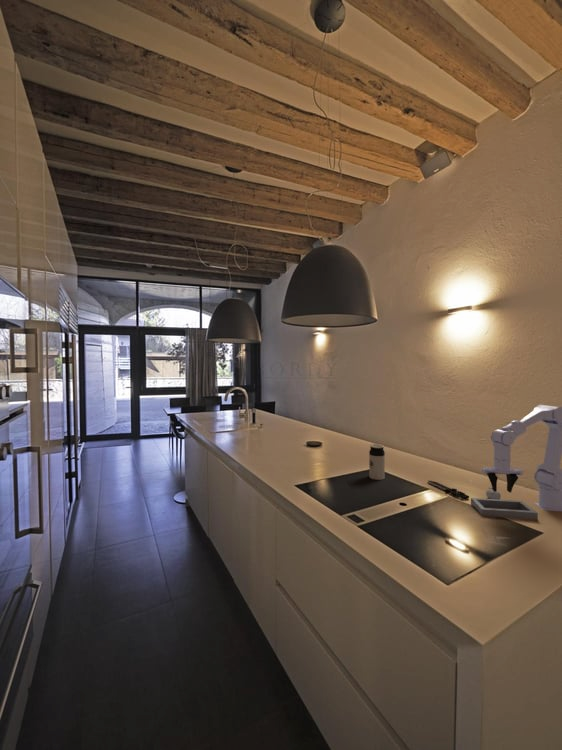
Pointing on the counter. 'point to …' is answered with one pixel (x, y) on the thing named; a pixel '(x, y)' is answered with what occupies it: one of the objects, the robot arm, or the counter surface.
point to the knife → (453, 491)
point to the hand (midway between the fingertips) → (501, 491)
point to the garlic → (492, 494)
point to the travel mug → (376, 462)
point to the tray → (504, 508)
